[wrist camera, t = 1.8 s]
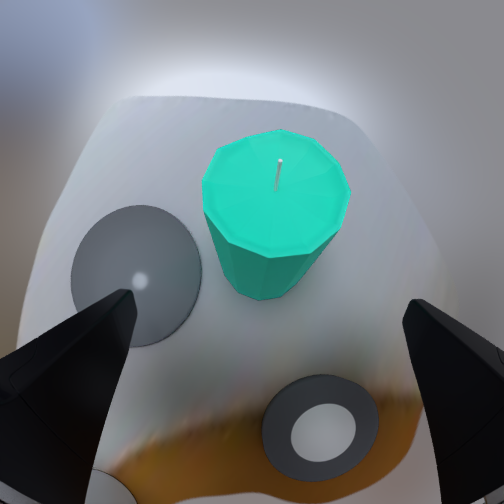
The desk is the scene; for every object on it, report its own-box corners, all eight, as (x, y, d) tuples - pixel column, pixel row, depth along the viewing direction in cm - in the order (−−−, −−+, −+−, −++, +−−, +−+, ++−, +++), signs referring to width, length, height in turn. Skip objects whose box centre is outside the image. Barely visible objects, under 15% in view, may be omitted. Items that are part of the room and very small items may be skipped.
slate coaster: (214, 333, 19) (213, 333, 18) (83, 353, 18) (77, 353, 17) (189, 196, 22) (188, 191, 21) (75, 226, 21) (71, 223, 21)
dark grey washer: (373, 449, 16) (385, 457, 14) (274, 481, 15) (276, 494, 13) (357, 360, 18) (368, 361, 16) (250, 390, 18) (250, 396, 16)
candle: (305, 227, 22) (355, 116, 10) (300, 304, 20) (367, 253, 8) (228, 218, 22) (211, 99, 10) (216, 295, 20) (175, 231, 8)
